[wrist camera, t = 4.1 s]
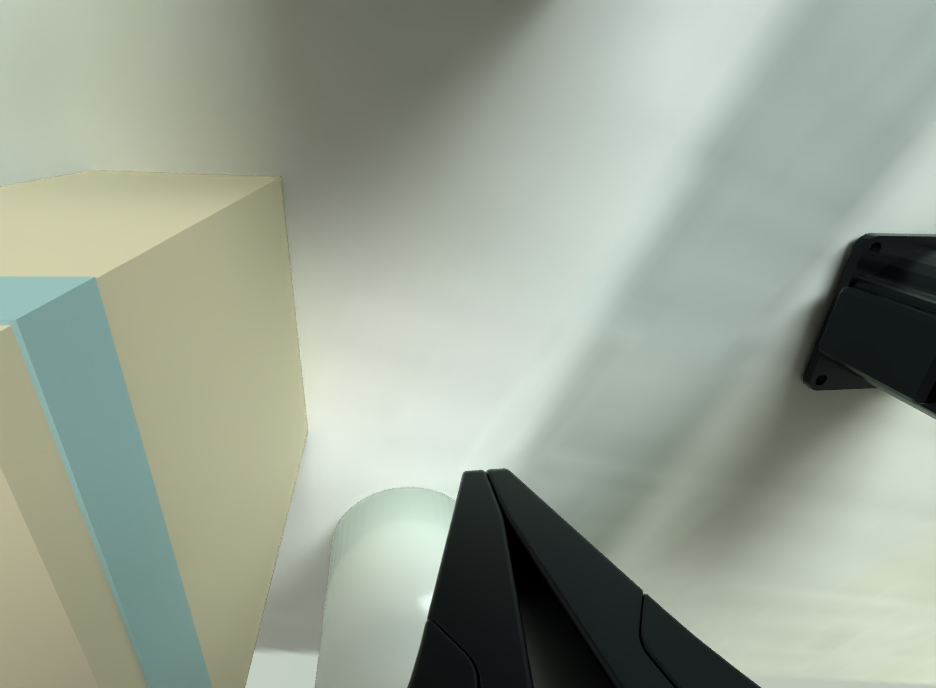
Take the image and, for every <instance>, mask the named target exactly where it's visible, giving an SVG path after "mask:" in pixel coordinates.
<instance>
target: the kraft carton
mask: <svg viewBox="0 0 936 688" xmlns="http://www.w3.org/2000/svg"><path fill="white" fill-rule="evenodd" d="M307 433H308V424H307V415H306V406H305V397H304V387H303V378H302V369H301V360H300V350H299V341H298V332H297V323H296V313H295V304H294V295H293V286H292V276H291V267H290V258H289V249H288V240H287V230H286V221H285V212H284V203H283V193H282V184H281V177H273V176H244V175H214V174H185V173H156V172H126V171H97V170H91V171H85V172H79V173H74V174H68V175H62V176H56V177H51V178H45V179H39V180H33V181H28V182H22V183H16V184H10V185H5V186H0V688H245V685H246V681H247V677H248V673H249V669H250V665H251V661H252V657H253V653H254V649H255V645H256V641H257V637H258V632H259V628H260V624H261V620H262V616H263V612H264V608H265V604H266V600H267V596H268V592H269V588H270V584H271V580H272V576H273V572H274V567H275V563H276V559H277V555H278V551H279V547H280V543H281V539H282V535H283V531H284V527H285V523H286V519H287V515H288V511H289V507H290V502H291V498H292V494H293V490H294V486H295V482H296V478H297V474H298V470H299V466H300V462H301V458H302V454H303V450H304V446H305V442H306V437H307Z"/></svg>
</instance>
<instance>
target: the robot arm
mask: <svg viewBox="0 0 936 688" xmlns="http://www.w3.org/2000/svg"><path fill="white" fill-rule="evenodd" d="M870 246H871V247H870ZM869 248H870V249H869ZM802 380H803V383H804V384H805V385H806V386H808V387H810V388H811V389H813V390H839V389H863V388H879V389H881V390H883V391H885V392H886V393H888V394H890V395H892V396H894V397H896V398H897V399H899V400H901V401H903V402H905V403H907V404H908V405H910V406H912V407H914V408H916V409H918V410H919V411H921V412H923V413H925V414H927V415H929V416H930V417H932V418H934V419H936V234H887V233H869V234H865V235H863V236H861V237H860V238H859V239H858V240H857V241H856V243H855V245H854V246H853V249H852V252H851V254H850V257H849V259H848V262H847V264H846V267H845V270H844V272H843V275H842V277H841V280H840V282H839V285H838V288H837V290H836V293H835V295H834V298H833V300H832V303H831V306H830V308H829V311H828V313H827V316H826V318H825V321H824V324H823V326H822V329H821V331H820V334H819V336H818V339H817V342H816V344H815V347H814V349H813V352H812V354H811V357H810V360H809V362H808V365H807V367H806V370H805V372H804V375H803V379H802ZM407 688H761V687H760V686H758V685H757V684H756V683H754V682H753V681H751V680H750V679H749V678H748V677H746V676H745V675H744V674H743V673H741V672H740V671H739V670H737V669H736V668H735V667H733V666H732V665H731V664H730V663H728V662H727V661H726V660H725V659H723V658H722V657H721V656H719V655H718V654H717V653H716V652H714V651H713V650H712V649H711V648H709V647H708V646H707V645H706V644H704V643H703V642H702V641H701V640H699V639H698V638H697V637H696V636H694V635H693V634H692V633H691V632H690V631H689V630H687V629H686V628H685V627H684V626H683V625H682V624H680V623H679V622H678V621H677V620H676V619H675V618H673V617H672V616H671V615H670V614H669V613H668V612H666V611H665V610H664V609H663V608H662V607H661V606H660V605H659V604H658V603H656V602H655V601H654V600H653V599H652V598H651V597H650V596H649V595H647V594H644V595H643V590H642V589H641V588H640V587H638V586H637V585H636V584H635V583H634V582H633V581H632V580H631V579H630V578H628V577H627V576H626V575H625V574H624V573H623V572H622V571H621V570H620V569H618V568H617V567H616V566H615V565H614V564H613V563H612V562H611V561H610V560H608V559H607V558H606V557H605V556H604V555H603V554H602V553H601V552H600V551H598V550H597V549H596V548H595V547H594V546H593V545H592V544H591V543H590V542H588V541H587V540H586V539H585V538H584V537H583V536H582V535H581V534H580V533H578V532H577V531H576V530H575V529H574V528H573V527H572V526H571V525H570V524H568V523H567V522H566V521H565V520H564V519H563V518H562V517H561V516H560V515H558V514H557V513H556V512H555V511H554V510H553V509H552V508H551V507H550V506H548V505H547V504H546V503H545V502H544V501H543V500H542V499H541V498H540V497H538V496H537V495H536V494H535V493H534V492H533V491H532V490H531V489H530V488H528V487H527V486H526V485H525V484H524V483H523V482H522V481H521V480H520V479H518V478H517V477H516V476H515V475H514V474H513V473H512V472H511V471H509V470H508V469H504V468H503V469H489V470H487V471H486V472H485V471H483V470H474V471H465V472H464V473H463V475H462V479H461V483H460V487H459V491H458V495H457V499H456V503H455V507H454V511H453V515H452V519H451V523H450V527H449V531H448V535H447V539H446V543H445V547H444V551H443V555H442V559H441V563H440V567H439V571H438V575H437V580H436V584H435V588H434V592H433V596H432V600H431V604H430V608H429V612H428V616H427V621H426V623H425V627H424V631H423V635H422V639H421V643H420V647H419V650H418V654H417V657H416V661H415V664H414V668H413V671H412V675H411V678H410V681H409V684H408V686H407Z"/></svg>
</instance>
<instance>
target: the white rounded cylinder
mask: <svg viewBox="0 0 936 688" xmlns="http://www.w3.org/2000/svg"><path fill="white" fill-rule="evenodd" d="M455 503H456V501H454V500H453V499H452V498H450V497H448V496H447V495H445V494H442V493H440V492H437V491H434V490H431V489H426V488H420V487H400V488H392V489H388V490H384V491H381V492H378V493H375V494H372V495H370V496H368V497H366V498H364V499H363V500H361V501H359V502H358V503H356V504H355V505H354V506H352V507H351V508H350V509H349V510H348V511H347V512H346V513H345V514H344V516H343V517H342V518H341V520H340V521H339V523H338V525H337V527H336V529H335V532H334V537H333V543H332V551H331V560H330V568H329V576H328V584H327V592H326V600H325V608H324V616H323V625H322V633H321V641H320V649H319V657H318V665H317V674H316V682H315V688H407V686H408V684H409V681H410V678H411V675H412V671H413V668H414V664H415V661H416V657H417V654H418V650H419V647H420V643H421V639H422V635H423V631H424V627H425V623H426V621H427V616H428V612H429V608H430V604H431V600H432V596H433V592H434V588H435V584H436V580H437V575H438V571H439V567H440V563H441V559H442V555H443V551H444V547H445V543H446V539H447V535H448V531H449V527H450V523H451V519H452V515H453V511H454V507H455Z"/></svg>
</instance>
